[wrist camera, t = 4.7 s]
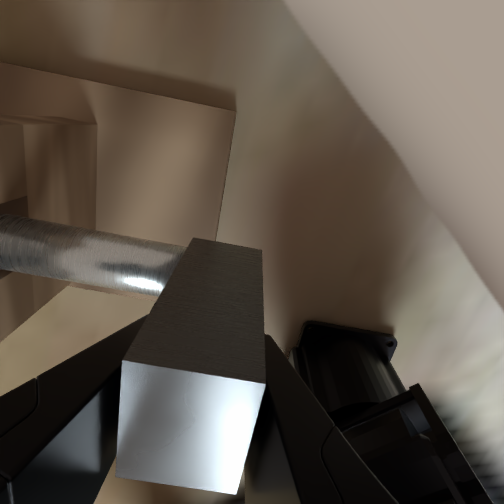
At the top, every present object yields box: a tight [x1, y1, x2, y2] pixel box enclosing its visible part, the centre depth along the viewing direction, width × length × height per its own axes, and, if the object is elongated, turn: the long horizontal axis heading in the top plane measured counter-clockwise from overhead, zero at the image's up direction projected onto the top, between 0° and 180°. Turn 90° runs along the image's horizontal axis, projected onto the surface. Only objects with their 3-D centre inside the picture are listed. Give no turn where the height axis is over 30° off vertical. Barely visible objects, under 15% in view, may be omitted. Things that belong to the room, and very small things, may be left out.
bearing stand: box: [0, 62, 237, 342], centre depth 15 cm, size 13×12×10 cm
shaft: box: [0, 214, 266, 494], centre depth 9 cm, size 10×3×8 cm, turn 79°
